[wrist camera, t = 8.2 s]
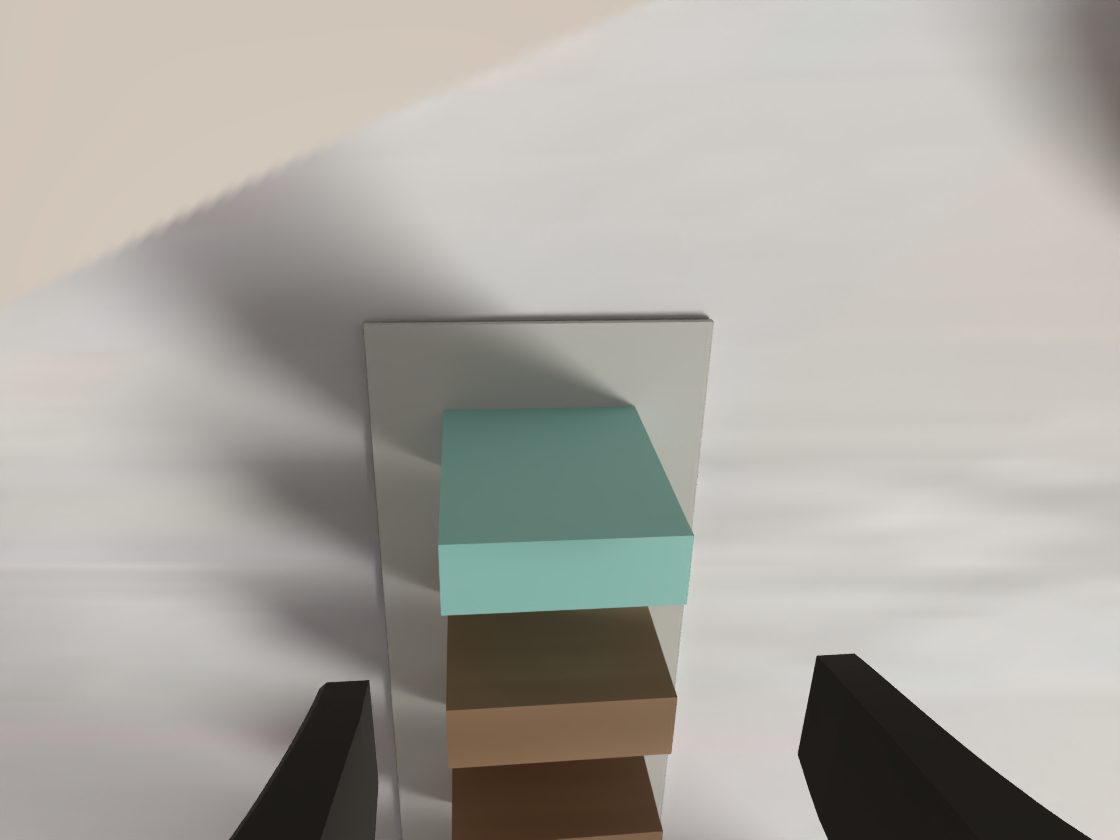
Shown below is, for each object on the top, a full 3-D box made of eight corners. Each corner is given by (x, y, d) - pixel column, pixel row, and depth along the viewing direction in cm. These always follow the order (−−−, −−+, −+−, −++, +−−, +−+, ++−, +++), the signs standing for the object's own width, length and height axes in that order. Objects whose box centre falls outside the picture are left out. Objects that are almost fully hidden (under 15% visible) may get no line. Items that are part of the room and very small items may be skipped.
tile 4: (623, 588, 24) (671, 753, 18) (450, 595, 23) (448, 768, 18) (626, 539, 23) (677, 697, 18) (448, 546, 23) (445, 710, 17)
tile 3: (615, 697, 26) (657, 878, 20) (454, 707, 25) (453, 895, 20) (618, 655, 25) (662, 831, 20) (453, 664, 24) (451, 847, 19)
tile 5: (630, 462, 22) (686, 604, 17) (445, 467, 22) (441, 616, 16) (635, 406, 22) (694, 535, 16) (443, 409, 21) (438, 545, 16)
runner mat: (649, 910, 30) (650, 916, 30) (410, 931, 29) (409, 937, 29) (711, 319, 21) (714, 322, 21) (364, 322, 20) (363, 325, 20)
